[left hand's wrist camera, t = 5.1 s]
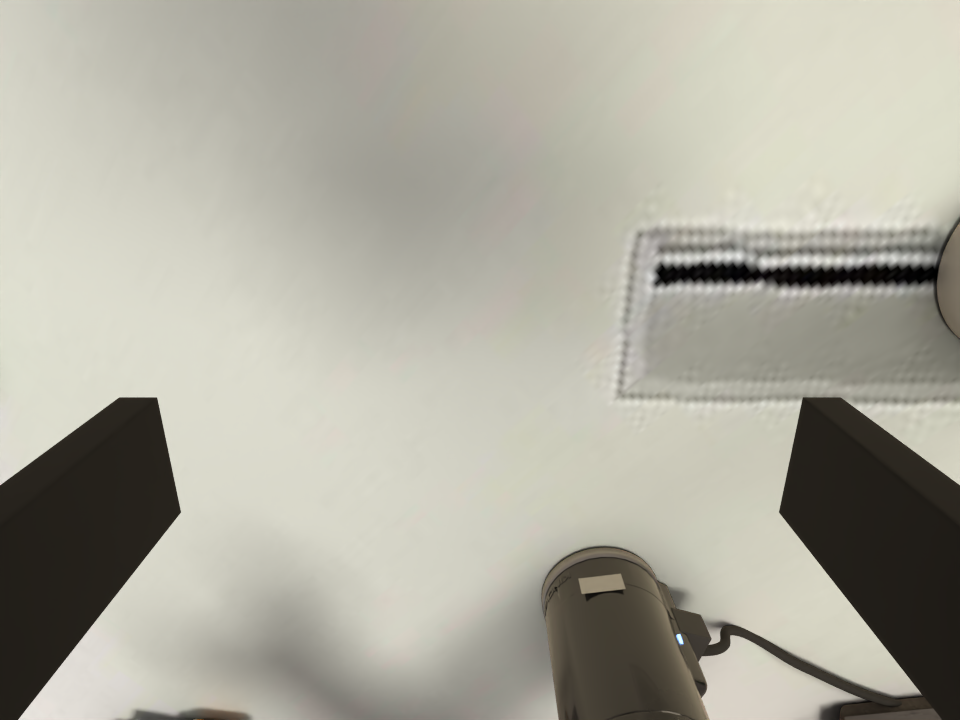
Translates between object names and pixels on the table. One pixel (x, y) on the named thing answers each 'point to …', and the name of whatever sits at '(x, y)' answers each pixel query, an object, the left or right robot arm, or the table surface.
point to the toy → (890, 711)
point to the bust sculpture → (950, 283)
